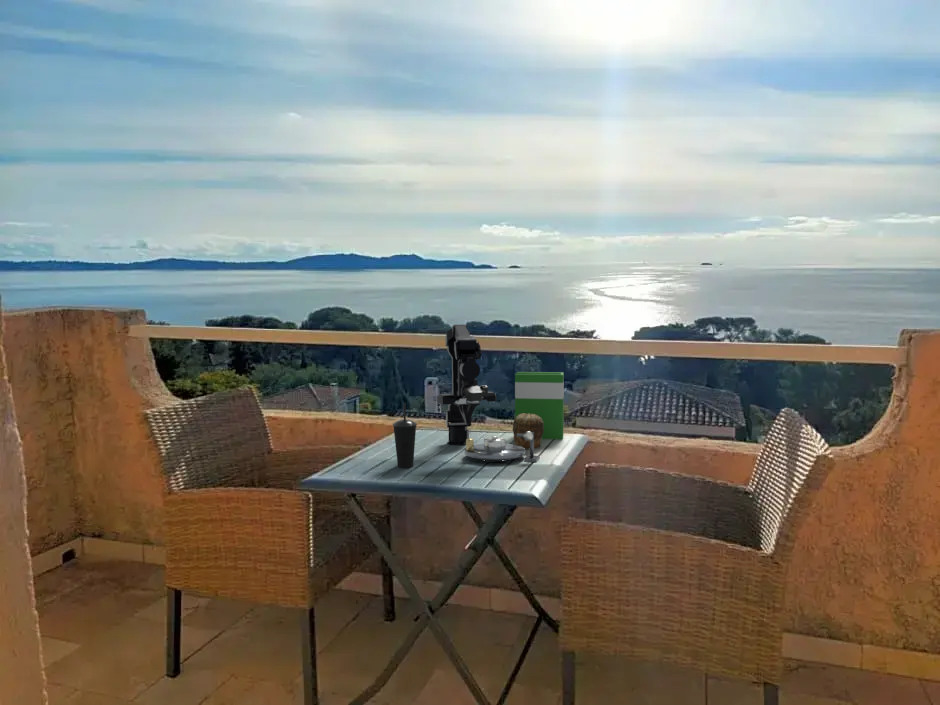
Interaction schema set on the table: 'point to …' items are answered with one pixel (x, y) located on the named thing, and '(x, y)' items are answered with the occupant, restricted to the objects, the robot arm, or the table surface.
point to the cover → (494, 444)
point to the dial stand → (530, 437)
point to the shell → (528, 429)
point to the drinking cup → (405, 441)
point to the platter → (480, 453)
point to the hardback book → (542, 399)
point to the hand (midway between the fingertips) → (467, 424)
